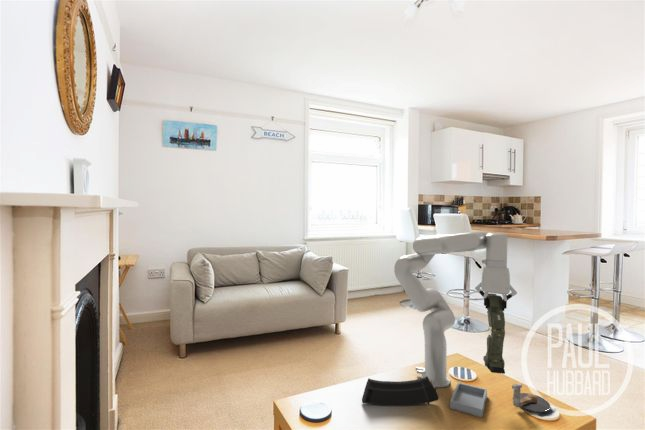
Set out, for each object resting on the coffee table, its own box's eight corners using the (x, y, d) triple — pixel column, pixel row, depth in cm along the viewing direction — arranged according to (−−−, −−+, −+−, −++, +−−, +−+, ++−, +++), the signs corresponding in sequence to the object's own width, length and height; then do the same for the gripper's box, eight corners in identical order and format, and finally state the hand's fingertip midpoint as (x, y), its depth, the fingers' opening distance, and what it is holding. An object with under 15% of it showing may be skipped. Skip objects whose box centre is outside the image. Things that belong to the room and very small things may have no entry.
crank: (530, 396, 142) (531, 376, 142) (539, 401, 139) (539, 381, 139) (509, 404, 137) (509, 383, 137) (517, 409, 134) (517, 388, 134)
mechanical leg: (511, 376, 131) (508, 294, 136) (491, 374, 132) (488, 293, 137) (499, 368, 144) (497, 293, 149) (481, 366, 145) (479, 292, 151)
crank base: (514, 408, 138) (514, 404, 138) (515, 393, 148) (515, 390, 148) (550, 417, 132) (550, 413, 132) (549, 401, 142) (549, 397, 142)
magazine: (356, 384, 140) (428, 363, 139) (355, 380, 143) (425, 359, 143) (369, 424, 140) (440, 403, 140) (368, 419, 144) (437, 398, 143)
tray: (450, 408, 138) (450, 400, 138) (457, 389, 152) (457, 382, 152) (482, 417, 132) (482, 409, 132) (487, 396, 146) (487, 389, 146)
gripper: (471, 263, 140) (470, 307, 141) (520, 267, 131) (519, 315, 132) (474, 260, 146) (473, 303, 147) (520, 264, 138) (519, 309, 139)
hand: (495, 308), depth 140 cm, fingers closed on mechanical leg, 5 cm apart
